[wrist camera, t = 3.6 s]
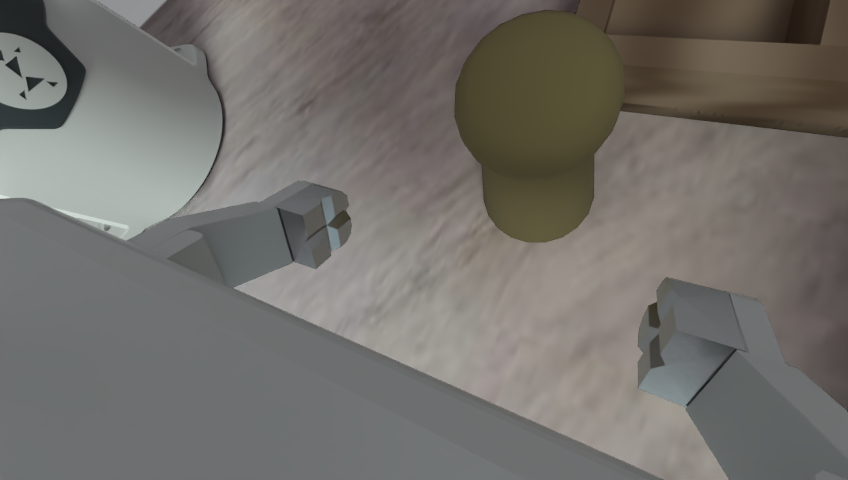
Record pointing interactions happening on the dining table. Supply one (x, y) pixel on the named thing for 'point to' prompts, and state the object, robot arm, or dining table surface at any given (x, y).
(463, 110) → the olive round-topped post
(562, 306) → the dining table surface
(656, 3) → the spice rack
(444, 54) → the dining table surface
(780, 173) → the dining table surface
